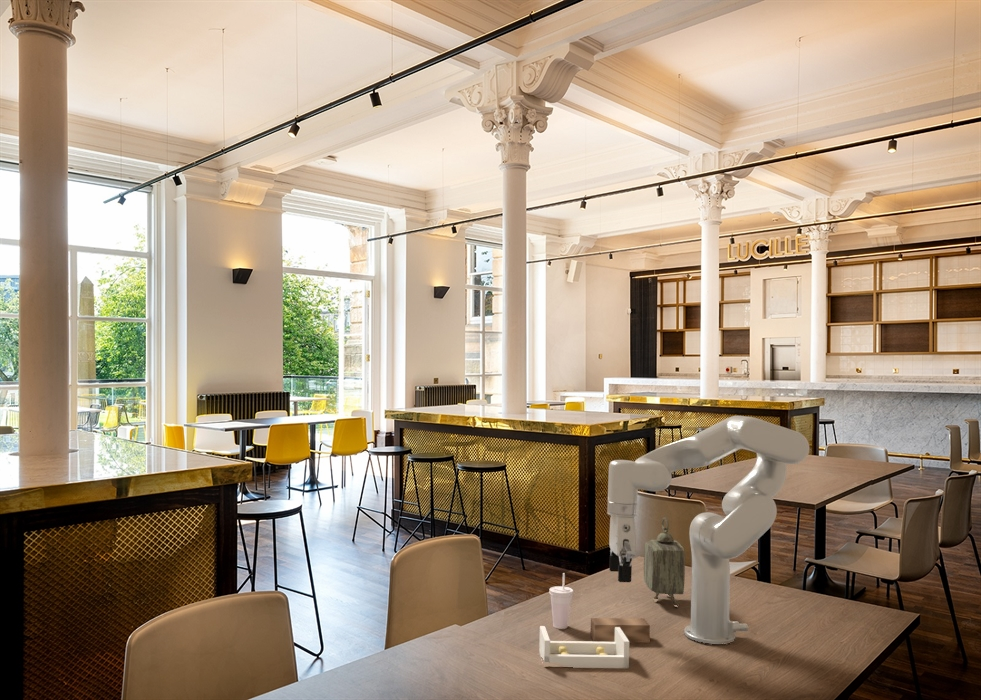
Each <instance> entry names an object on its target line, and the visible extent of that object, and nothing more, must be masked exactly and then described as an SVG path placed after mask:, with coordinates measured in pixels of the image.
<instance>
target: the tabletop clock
mask: <svg viewBox="0 0 981 700" xmlns="http://www.w3.org/2000/svg"><path fill="white" fill-rule="evenodd" d="M664 523H666V526H664ZM661 524H662V525H661V527H662V528H661V529H662V532H660V533H659V534H658V535H657V536H656V539H650V540H648V541H645V542H644V548H643V580H644V583H645V585H646V587H647V588H648V589H649V590H650V591H652V592H654V593H655V596H653V598H654V599H658V598H659V595H661V594H663V595H665V594H668V595H669V597H670V598H671V600H672V602H673V604H674V605H677V606H678V605H679V606H680V603H678V602H677V601H676V600H675V596H674V595H683V594H684V591H685V576H686V570H685V569H686V561H685V560H686V559H685V557H686V556H685V549H684V547H683V546H682V545H681V543H680V542H679V541H677V540H674V537H673V535H672V534H670V533H668V532H669V530H670V529H669V525H670V524H669V520H668V518H667V517H665V516H664V517H663V518H662V519H661Z"/></svg>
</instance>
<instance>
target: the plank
mask: <svg viewBox="0 0 981 700" xmlns="http://www.w3.org/2000/svg"><path fill="white" fill-rule="evenodd" d="M615 627H620V628H621V630H622V631H623V633H624V634H625V636H626V637H627V639H628V640H629V643H650V639H651V638H650V637H651V636H650V634H651V633H650V631H651V630H650V629H651V628H650V627H651V625H650V624H649V622H648V621H647V620H646V619H645V618H640V617H639V618H637V617H635V618H632V617H630V618H625V617H624V618H622V617H620V618H619V617H615V618H613V617H612V618H611V617H609V618H608V617H605V618H604V617H591V618H590V633H589V634H590V636H591V638H592V640H593V642H614V641H615Z"/></svg>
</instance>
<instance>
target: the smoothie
mask: <svg viewBox="0 0 981 700" xmlns="http://www.w3.org/2000/svg"><path fill="white" fill-rule="evenodd" d="M565 580H566V574H565V572H563V573H562V585H560V586H559V585H558V586H552V587H550V588H549V590H548V591H549V595H550V603H551V614H552V615H551V616H552V624H553V625H552V626H553V628H555V629H556V630H557V629H558V630H565V629H567V628H568V627H569V626H568V624H569V618H570V610H571V606H572V605H571V604H572V597H573V595H574V589H573V588H571V587H568V586H565V582H566V581H565Z"/></svg>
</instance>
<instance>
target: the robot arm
mask: <svg viewBox="0 0 981 700" xmlns="http://www.w3.org/2000/svg"><path fill="white" fill-rule="evenodd" d="M739 450H746V451H751V452H753V453H756V462H755V464H754V466H753V468H752V469H751V470H750V471H749V472H748V474H746V476H744V477H743V478H742V479H740V481H739V482H737V484H735V485H734V486H733V487H732V488H731V489H730V490H729V491H728V492H727V493H725V495H724V496H723V499H722V501H721V509H722V510H723V513H724V514H725V515H726V516H725V517H724V516H722V515H720V514H717V513H715V512H708V511H707V512H701V513H698V514H697V515H696V516H695V517H694V518H693V519H692V520H691V522H690V526H689V543H690V551H691V581H690V582H691V585H690V586H691V589H690V590H691V591H690V592H691V595H690V601H691V602H690V624H688V625H686V626H685V627H684V630H683V631H684V635H685V636H686V637H687V639H690V640H693V641H694V640H695V642H697V641H698V643H701V642H703V643H702V644H705V643H711V644H710V645H712V644H722V643H723V644H724V643H729V642H731V641H733V640H734V639H735V640H736V634H735V633H736V632H748V631H749V626H748V624H747V623H739V621H736V620H735V621H733V620H731V619H730V595H731V594H730V591H731V589H730V584H731V583H730V582H731V581H730V580H731V563H730V560H732V559H735V558H738V557H739V556H741V555H743V554H744V553H745V552H746V551H747V550H748V549H749V548H750V547H752V545H754V544H755V543H756V542H757V541H758V540H759V539H760V538H761V537H762V536H764V534H765V533H766V532H767V531H768V530H769V529H771V527H772V526H773V524H774V523H775V521H776V517H777V512H778V509H777V505H776V502H775V500H774V498H775V496H776V495H777V494H779V492H780V491H781V490H782V489H783V487H784V485H785V482H786V478H787V470H788V469H787V464H788V465H789V464H790V465H796V464H797V465H798V464H800V463H801V462H803V461H805V460H806V459H807V457H808V456H809V454H810V444H809V441H808V438H806V437H805V435H804V434H803V433H801V432H799V431H796V430H793V429H791V428H787V427H784V426H781V425H779V424H774V423H771V422H769V421H766V420H764V419H760V418H757V417H753V416H744V415H733V416H730V417H727V418H724V419H722V420H720V421H719V422H717V423H715V424H713V425H711V426H709V427H707V428H704V429H703V430H701V431H700V432H698V433H695V434H693V435H691V436H688V437H686V438H682V439H680V440H677V441H675V442H674V441H673V442H672V443H668V444H665V445H663V446H661V447H658V448H655V449H654V450H652V451H649V452H648V453H646V454H644V455H641V456H640V457H638V458H636V459H635V461H632V460H627V459H614V460H611V461H610V462H609V465H608V481H607V482H608V483H607V510H606V514H607V515H608V516H610V518H609V520H610V521H609V534H608V537H609V540H608V541H609V542H608V545H609V548H610V550H609V552H610V553H609V554H610V555H609V569H608V570H609V571H610V572H617V573H618V574H617V581H618V582H619V583H632V568H633V563H632V562H633V559H632V557H635V556H636V554H637V550H636V549H637V546H636V545H637V544H636V542H637V538H636V537H637V535H636V534H637V533H636V530H637V529H636V520H635V519H636V517H637V516H638V496H639V495H638V494H639V490H644V491H649V492H661V491H664V490H666V489H667V488H669V487H670V485H671V483H672V478H673V476H672V473H673V472H676V471H680V470H681V471H682V470H685V469H697V468H699V469H700V468H702V467H707V466H710V465H711V464H714V463H716V462H718V461H719V460H721V459H724V458H725V457H727V456H729V455H730V454H733V453H735V452H737V451H739Z"/></svg>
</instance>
